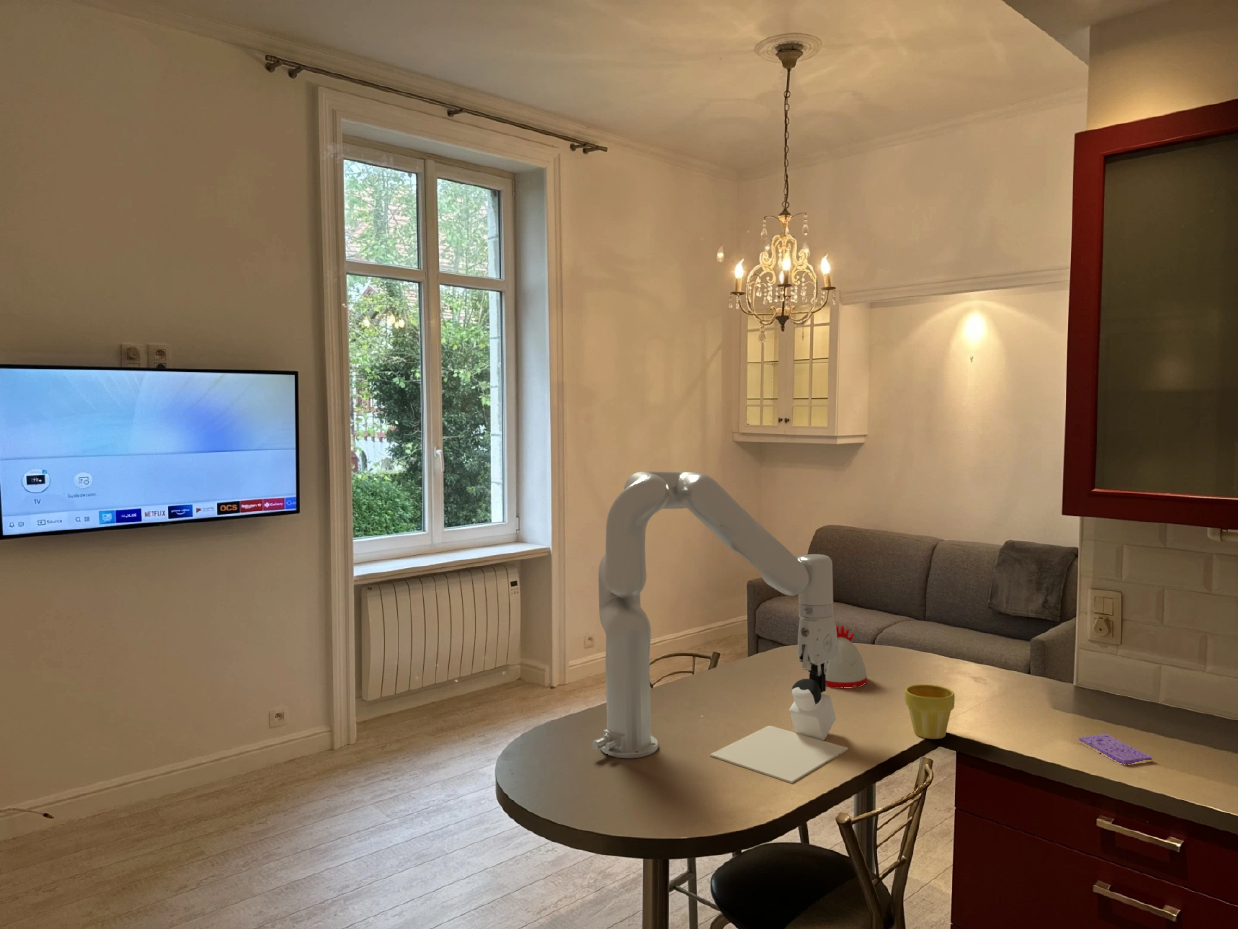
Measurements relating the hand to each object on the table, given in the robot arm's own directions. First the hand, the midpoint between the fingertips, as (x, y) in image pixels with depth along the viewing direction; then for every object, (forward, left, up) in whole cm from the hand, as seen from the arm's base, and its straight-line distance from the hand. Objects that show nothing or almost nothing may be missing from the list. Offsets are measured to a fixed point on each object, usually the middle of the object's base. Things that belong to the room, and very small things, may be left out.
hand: (817, 690), depth 190 cm
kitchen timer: (+37, +15, -10) cm, 41 cm away
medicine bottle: (0, 0, -8) cm, 8 cm away
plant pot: (+16, -19, -10) cm, 26 cm away
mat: (-15, 0, -10) cm, 18 cm away
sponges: (+31, -52, -10) cm, 61 cm away
